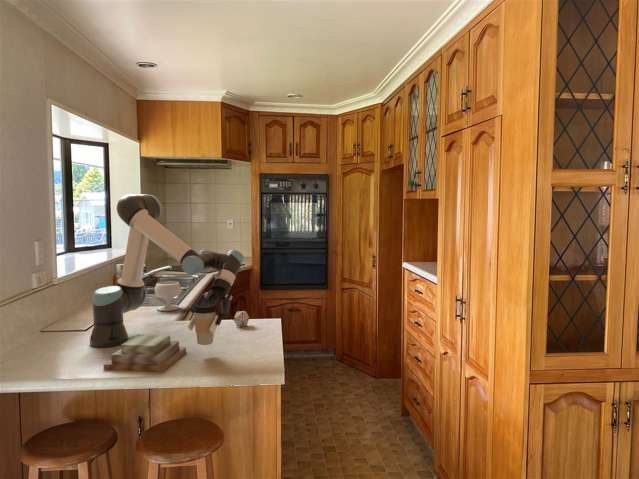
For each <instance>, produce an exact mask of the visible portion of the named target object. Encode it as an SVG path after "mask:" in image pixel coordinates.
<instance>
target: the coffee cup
mask: <svg viewBox="0 0 639 479" xmlns="http://www.w3.org/2000/svg"><path fill="white" fill-rule="evenodd" d="M193 312H194V321H195V325H194V328H195V329H194V330H195V333H196V343H197V345H200V346H209V345H212V344H214V335H215V333H214V334H212V333H211V331H210V330H209V329H210V327H211V325H212V323H213V321H214V319H215V317H216V315H217V314H216V313H217V312H218V306H216V303H202V304H197V305H195V307H194V308H193Z"/></svg>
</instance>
